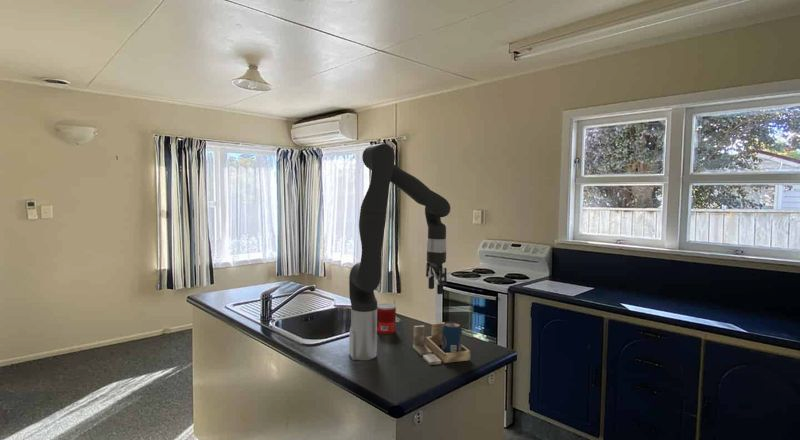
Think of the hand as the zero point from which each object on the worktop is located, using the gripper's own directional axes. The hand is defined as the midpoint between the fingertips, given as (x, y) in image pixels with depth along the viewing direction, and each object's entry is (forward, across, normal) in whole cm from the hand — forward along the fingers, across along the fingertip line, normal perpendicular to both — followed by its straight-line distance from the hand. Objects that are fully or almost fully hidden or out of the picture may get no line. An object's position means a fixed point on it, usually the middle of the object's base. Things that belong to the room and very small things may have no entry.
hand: (435, 291), depth 163 cm
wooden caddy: (+20, +12, 0) cm, 23 cm away
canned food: (+20, -17, -15) cm, 31 cm away
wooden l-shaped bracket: (+20, +11, -8) cm, 24 cm away
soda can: (+20, +15, 0) cm, 26 cm away
